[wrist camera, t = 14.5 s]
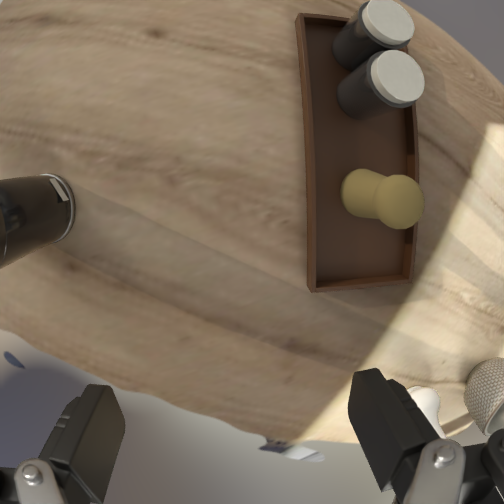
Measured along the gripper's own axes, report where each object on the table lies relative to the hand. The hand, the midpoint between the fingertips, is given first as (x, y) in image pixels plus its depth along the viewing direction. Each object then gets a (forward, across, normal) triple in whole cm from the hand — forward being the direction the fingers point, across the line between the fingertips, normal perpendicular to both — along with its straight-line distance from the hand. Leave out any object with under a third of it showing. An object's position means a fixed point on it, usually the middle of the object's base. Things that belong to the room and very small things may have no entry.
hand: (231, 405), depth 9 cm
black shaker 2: (+27, -16, -16) cm, 36 cm away
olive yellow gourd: (+28, -16, -4) cm, 32 cm away
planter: (+27, -48, +32) cm, 64 cm away
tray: (+28, -16, -9) cm, 34 cm away
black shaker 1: (+27, -16, -22) cm, 39 cm away
